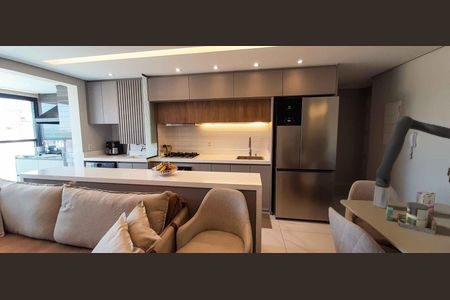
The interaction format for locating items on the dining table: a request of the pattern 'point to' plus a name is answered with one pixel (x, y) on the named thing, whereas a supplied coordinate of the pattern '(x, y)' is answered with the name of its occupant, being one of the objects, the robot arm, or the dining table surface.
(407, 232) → the dining table surface
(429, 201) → the candy bar box
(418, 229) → the track
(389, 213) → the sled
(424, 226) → the coffee can
